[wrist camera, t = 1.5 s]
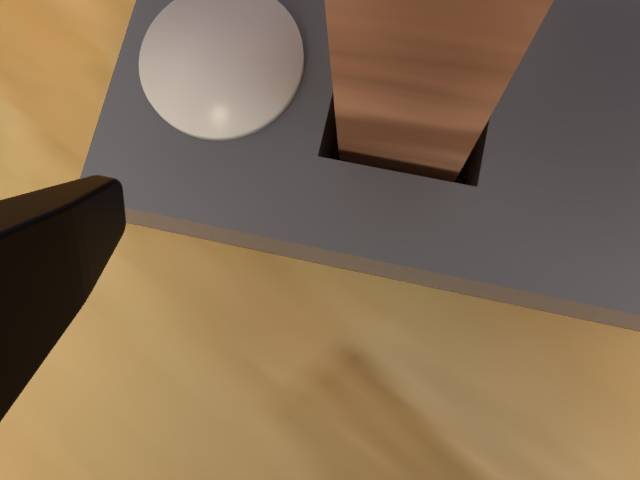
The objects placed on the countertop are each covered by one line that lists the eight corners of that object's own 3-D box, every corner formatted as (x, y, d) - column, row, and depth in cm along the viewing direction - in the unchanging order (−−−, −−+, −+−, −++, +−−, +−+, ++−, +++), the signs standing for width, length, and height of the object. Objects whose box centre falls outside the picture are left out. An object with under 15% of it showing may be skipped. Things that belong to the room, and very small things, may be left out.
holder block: (662, 336, 21) (730, 331, 18) (114, 220, 24) (67, 193, 20) (694, 49, 24) (760, -12, 20) (190, -31, 26) (160, -100, 22)
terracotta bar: (446, 195, 23) (556, -4, 10) (340, 175, 24) (320, -40, 11) (465, 96, 24) (588, -201, 11) (362, 78, 24) (367, -227, 12)
